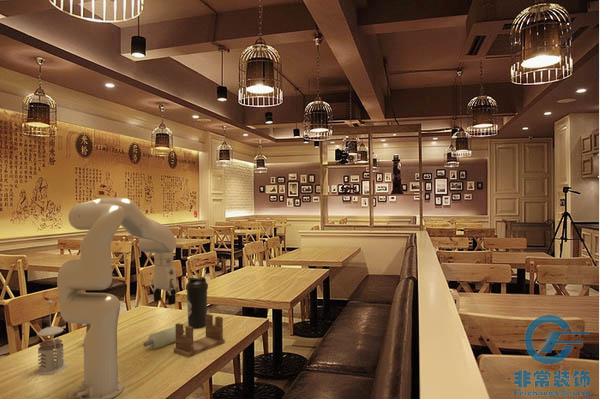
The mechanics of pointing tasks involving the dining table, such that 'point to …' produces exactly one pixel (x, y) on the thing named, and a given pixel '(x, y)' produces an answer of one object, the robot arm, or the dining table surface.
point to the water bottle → (197, 302)
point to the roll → (162, 338)
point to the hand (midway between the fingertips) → (164, 302)
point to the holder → (191, 347)
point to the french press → (50, 351)
